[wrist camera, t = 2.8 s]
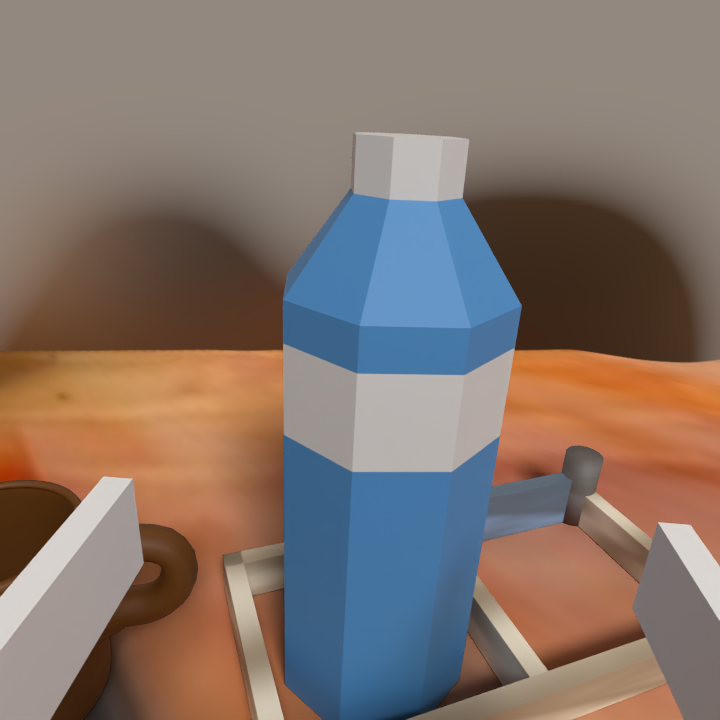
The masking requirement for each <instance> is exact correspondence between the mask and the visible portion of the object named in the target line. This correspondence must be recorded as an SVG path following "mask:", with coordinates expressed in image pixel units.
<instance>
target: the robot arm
mask: <svg viewBox="0 0 720 720" xmlns="http://www.w3.org/2000/svg"><path fill="white" fill-rule="evenodd" d="M143 564H144V561H143V554H142V546H141V538H140V531H139V523H138V515H137V508H136V500H135V492H134V485H133V479H128V478H116V477H103V478H102V479H101V480H100V481H99V483H98V484H97V485H96V486H95V487H94V488H93V490H92V491H91V492H90V493H89V494H88V495H87V497H86V498H85V499H84V500H83V501H82V502H81V503H80V505H79V506H78V507H77V508H76V509H75V510H74V512H73V513H72V514H71V515H70V516H69V517H68V519H67V520H66V521H65V522H64V523H63V524H62V526H61V527H60V528H59V529H58V530H57V531H56V533H55V534H54V535H53V536H52V537H51V538H50V540H49V541H48V542H47V543H46V544H45V545H44V547H43V548H42V549H41V550H40V551H39V552H38V554H37V555H36V556H35V557H34V558H33V559H32V561H31V562H30V563H29V564H28V565H27V566H26V568H25V569H24V570H23V571H22V572H21V573H20V574H19V576H18V577H17V578H16V579H15V580H14V581H13V583H12V584H11V585H10V586H9V587H8V588H7V590H6V591H5V592H4V593H3V594H2V595H1V597H0V720H50V719H51V718H52V716H53V714H54V713H55V711H56V709H57V708H58V706H59V704H60V703H61V701H62V699H63V698H64V696H65V694H66V693H67V691H68V689H69V688H70V686H71V684H72V682H73V681H74V679H75V677H76V676H77V674H78V672H79V671H80V669H81V667H82V666H83V664H84V662H85V661H86V659H87V657H88V656H89V654H90V652H91V651H92V649H93V647H94V646H95V644H96V642H97V641H98V639H99V637H100V636H101V634H102V632H103V631H104V629H105V627H106V626H107V624H108V622H109V621H110V619H111V617H112V616H113V614H114V612H115V611H116V609H117V607H118V606H119V604H120V602H121V601H122V599H123V597H124V596H125V594H126V592H127V591H128V589H129V587H130V586H131V584H132V582H133V581H134V579H135V577H136V576H137V574H138V572H139V571H140V569H141V567H142V566H143ZM632 608H633V610H634V612H635V615H636V617H637V619H638V621H639V623H640V625H641V628H642V630H643V632H644V634H645V636H646V638H647V641H648V643H649V645H650V647H651V649H652V651H653V653H654V656H655V658H656V660H657V662H658V664H659V666H660V669H661V671H662V673H663V675H664V677H665V679H666V682H667V684H668V686H669V688H670V690H671V692H672V695H673V697H674V699H675V701H676V703H677V705H678V707H679V710H680V712H681V714H682V716H683V718H684V720H720V567H719V565H718V564H717V562H716V561H715V559H714V558H713V557H712V555H711V554H710V552H709V551H708V550H707V548H706V547H705V545H704V544H703V542H702V541H701V540H700V538H699V537H698V535H697V534H696V532H695V531H694V530H693V528H692V527H691V525H684V524H672V523H660V522H658V524H657V527H656V531H655V534H654V537H653V541H652V544H651V547H650V551H649V554H648V557H647V561H646V564H645V567H644V571H643V574H642V577H641V581H640V584H639V587H638V591H637V594H636V597H635V601H634V604H633V607H632Z"/></svg>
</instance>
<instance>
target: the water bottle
mask: <svg viewBox="0 0 720 720" xmlns="http://www.w3.org/2000/svg"><path fill="white" fill-rule="evenodd" d="M468 145H469V139H464V138H457V137H444V136H431V135H414V134H395V133H362V132H361V133H359V132H354V133H353V153H352V155H353V156H352V178H351V189H350V190H349V192H348V193H347V194H346V196H345V197H344V198H343V200H342V201H341V202H340V204H339V205H338V206H337V208H336V209H335V210H334V212H333V213H332V214H331V216H330V217H329V219H328V220H327V221H326V223H325V224H324V225H323V227H322V228H321V229H320V231H319V232H318V233H317V235H316V236H315V237H314V239H313V240H312V241H311V243H310V244H309V245H308V247H307V248H306V249H305V251H304V252H303V254H302V255H301V256H300V258H299V259H298V261H297V262H296V263H295V264H294V266H293V267H292V268H291V270H290V271H289V272H288V274H287V280H286V286H285V291H284V297H283V404H284V605H285V685H286V686H287V687H288V688H289V689H290V690H291V691H292V692H293V693H294V694H296V695H297V696H298V697H299V698H300V699H301V700H302V701H303V702H304V703H305V704H306V705H307V706H309V707H310V708H311V709H312V710H313V711H314V712H315V713H316V714H317V715H318V716H319V717H320V718H322V719H323V720H406V719H409V718H412V717H415V716H418V715H421V714H424V713H427V712H430V711H433V710H435V709H436V708H437V706H438V705H439V704H440V703H441V701H442V700H443V699H444V698H445V697H446V695H447V694H448V693H449V692H450V690H451V689H452V688H453V687H454V685H455V684H456V683H457V682H458V680H459V678H460V672H461V666H462V660H463V654H464V648H465V642H466V636H467V630H468V624H469V618H470V612H471V606H472V600H473V594H474V588H475V582H476V576H477V570H478V564H479V558H480V552H481V546H482V540H483V534H484V528H485V522H486V516H487V510H488V504H489V498H490V492H491V486H492V480H493V474H494V468H495V462H496V456H497V450H498V444H499V438H500V432H501V426H502V420H503V414H504V408H505V402H506V396H507V390H508V384H509V378H510V372H511V366H512V360H513V354H514V348H515V342H516V336H517V330H518V324H519V318H520V312H521V304H520V302H519V300H518V298H517V297H516V295H515V293H514V291H513V289H512V287H511V286H510V284H509V282H508V280H507V279H506V277H505V275H504V273H503V271H502V269H501V268H500V266H499V264H498V262H497V260H496V258H495V257H494V255H493V253H492V251H491V249H490V247H489V246H488V244H487V242H486V240H485V238H484V237H483V235H482V233H481V231H480V229H479V228H478V226H477V224H476V222H475V220H474V219H473V217H472V215H471V213H470V211H469V209H468V207H467V206H466V204H465V202H464V200H463V198H462V197H463V187H464V180H465V171H466V162H467V153H468Z"/></svg>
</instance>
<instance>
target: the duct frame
mask: <svg viewBox="0 0 720 720" xmlns="http://www.w3.org/2000/svg"><path fill="white" fill-rule="evenodd" d="M602 463H603V457H602V455H601V454H600V453H599V452H597V451H595V450H593V449H591V448H588V447H584V446H572V447H569V448H568V449H567V450H566V454H565V459H564V463H563V468H562V473H557V474H552V475H547V476H542V477H537V478H532V479H527V480H522V481H517V482H512V483H507V484H502V485H497V486H492V487H491V492H490V498H489V504H488V510H487V516H486V522H485V528H484V534H483V540H482V541H485V540H490V539H494V538H498V537H502V536H506V535H511V534H515V533H519V532H523V531H527V530H532V529H536V528H540V527H544V526H549V525H553V524H557V523H561V522H563V523H566V524H568V525H573V526H579V527H580V528H581V529H582V530H583V531H584V532H585V533H586V534H587V535H588V536H589V537H591V538H592V539H593V540H594V541H595V542H596V543H597V544H598V545H599V546H600V547H601V548H602V549H603V550H604V551H606V552H607V553H608V554H609V555H610V556H611V557H612V558H613V559H614V560H615V561H616V562H617V563H618V564H619V565H620V566H622V567H623V568H624V569H625V570H626V571H627V572H628V573H629V574H630V575H631V576H632V577H633V578H634V579H635V580H637V581H638V582H639V583H640V581H641V577H642V574H643V571H644V567H645V564H646V561H647V557H648V554H649V551H650V547H651V544H652V541H653V540H652V539H651V538H650V537H649V536H648V535H646V534H645V533H644V532H643V531H641V530H640V529H639V528H638V527H637V526H635V525H634V524H633V523H632V522H631V521H629V520H628V519H627V518H626V517H625V516H623V515H622V514H621V513H620V512H619V511H617V510H616V509H615V508H614V507H613V506H611V505H610V504H609V503H608V502H606V501H605V500H604V499H603V498H602V497H600V496H599V495H598V494H597V493H596V492H595V491H596V487H597V483H598V479H599V475H600V471H601V467H602ZM223 570H224V587H225V593H226V598H227V603H228V608H229V613H230V617H231V622H232V627H233V632H234V637H235V642H236V647H237V651H238V656H239V661H240V666H241V671H242V676H243V681H244V686H245V690H246V695H247V700H248V705H249V710H250V715H251V720H284V717H283V714H282V710H281V706H280V702H279V698H278V694H277V690H276V686H275V683H274V679H273V675H272V671H271V667H270V663H269V659H268V656H267V652H266V648H265V644H264V640H263V636H262V632H261V628H260V625H259V621H258V617H257V613H256V609H255V605H254V601H253V597H252V596H254V595H258V594H262V593H266V592H270V591H275V590H279V589H283V588H284V542H282V543H278V544H273V545H268V546H263V547H258V548H254V549H249V550H244V551H239V552H235V553H230V554H225V555H223ZM467 631H468V633H469V634H470V636H471V637H472V639H473V641H474V642H475V644H476V645H477V647H478V648H479V650H480V651H481V653H482V654H483V656H484V658H485V659H486V661H487V662H488V664H489V665H490V667H491V668H492V670H493V671H494V673H495V674H496V676H497V678H498V679H499V681H500V682H501V684H502V685H503V687H500V688H497V689H494V690H491V691H488V692H485V693H482V694H479V695H476V696H474V697H471V698H468V699H465V700H462V701H459V702H456V703H453V704H450V705H447V706H444V707H441V708H439V709H436V710H433V711H430V712H427V713H424V714H421V715H418V716H415V717H412V718H409V719H406V720H573V719H575V718H578V717H581V716H583V715H586V714H588V713H591V712H594V711H596V710H599V709H601V708H604V707H607V706H609V705H612V704H614V703H617V702H620V701H622V700H625V699H627V698H630V697H633V696H635V695H638V694H640V693H643V692H646V691H648V690H651V689H653V688H656V687H659V686H661V685H664V684H666V683H667V682H666V679H665V677H664V675H663V673H662V671H661V669H660V666H659V664H658V662H657V660H656V658H655V656H654V653H653V651H652V649H651V647H650V645H649V643H648V641H647V638H643V639H640V640H637V641H634V642H631V643H628V644H625V645H623V646H620V647H617V648H614V649H611V650H608V651H605V652H602V653H599V654H596V655H593V656H590V657H587V658H585V659H582V660H579V661H576V662H573V663H570V664H567V665H564V666H561V667H558V668H555V669H552V670H549V671H548V670H547V669H546V667H545V666H544V665H543V663H542V662H541V661H540V659H539V658H538V657H537V655H536V654H535V653H534V651H533V650H532V649H531V647H530V646H529V644H528V643H527V642H526V640H525V639H524V638H523V636H522V635H521V634H520V632H519V631H518V630H517V628H516V627H515V626H514V624H513V623H512V622H511V620H510V619H509V618H508V616H507V615H506V614H505V612H504V611H503V610H502V608H501V607H500V606H499V604H498V603H497V602H496V600H495V599H494V598H493V596H492V595H491V593H490V592H489V591H488V589H487V588H486V587H485V585H484V584H483V583H482V581H481V580H480V579H479V577H478V576H476V582H475V588H474V594H473V600H472V606H471V612H470V618H469V624H468V630H467Z"/></svg>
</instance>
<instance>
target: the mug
mask: <svg viewBox="0 0 720 720" xmlns="http://www.w3.org/2000/svg"><path fill="white" fill-rule="evenodd" d="M80 503H81V501H80V499H79V498H78V497H77V496H76V495H75V494H74V493H73V492H72V491H70V490H69V489H67V488H65V487H63V486H61V485H58V484H54V483H51V482H45V481H37V480H15V481H5V482H0V597H1V595H2V594H3V593H4V592H5V591H6V590H7V588H8V587H9V586H10V585H11V584H12V583H13V581H14V580H15V579H16V578H17V577H18V576H19V574H20V573H21V572H22V571H23V570H24V569H25V568H26V566H27V565H28V564H29V563H30V562H31V561H32V559H33V558H34V557H35V556H36V555H37V554H38V552H39V551H40V550H41V549H42V548H43V547H44V545H45V544H46V543H47V542H48V541H49V540H50V538H51V537H52V536H53V535H54V534H55V533H56V531H57V530H58V529H59V528H60V527H61V526H62V524H63V523H64V522H65V521H66V520H67V519H68V517H69V516H70V515H71V514H72V513H73V512H74V510H75V509H76V508H77V507H78V506H79V505H80ZM139 531H140V538H141V546H142V554H143V561H145V562H152V563H155V564H158V565H160V567H161V568H162V569H161V573H160V576H159V577H158V578H157V579H156V580H155V581H153V582H150V583H147V584H141V585H131V586H130V587H129V589H128V591H127V592H126V594H125V596H124V597H123V599H122V601H121V602H120V604H119V606H118V607H117V609H116V611H115V612H114V614H113V616H112V617H111V619H110V621H109V622H108V624H107V626H106V627H105V629H104V631H103V632H102V634H101V636H100V637H99V639H98V641H97V642H96V644H95V646H94V647H93V649H92V651H91V652H90V654H89V656H88V657H87V659H86V661H85V662H84V664H83V666H82V667H81V669H80V671H79V672H78V674H77V676H76V677H75V679H74V681H73V682H72V684H71V686H70V688H69V689H68V691H67V693H66V694H65V696H64V698H63V699H62V701H61V703H60V704H59V706H58V708H57V709H56V711H55V713H54V714H53V716H52V718H51V719H50V720H83V719H84V718H85V717H86V716H87V714H88V713H89V712H90V711H91V710H92V708H93V707H94V705H95V703H96V702H97V700H98V699H99V697H100V696H101V694H102V692H103V690H104V688H105V685H106V683H107V680H108V676H109V672H110V666H111V646H110V638H109V637H110V636H111V635H113V634H115V633H118V632H120V631H121V630H122V629H124V628H125V627H129V626H134V625H141V624H146V623H150V622H153V621H156V620H159V619H161V618H163V617H165V616H167V615H168V614H170V613H172V612H173V611H174V610H176V609H177V608H178V607H179V606H180V605H182V604H183V603H184V601H185V600H186V599H187V597H188V596H189V595H190V593H191V591H192V588H193V586H194V584H195V582H196V578H197V571H198V565H197V560H196V555H195V551H194V549H193V548H192V547H191V545H190V544H189V542H188V541H187V539H186V538H185V537H184V536H182V535H181V534H179V533H178V532H176V531H175V530H174V529H172V528H168V527H164V526H160V525H156V524H139Z"/></svg>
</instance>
